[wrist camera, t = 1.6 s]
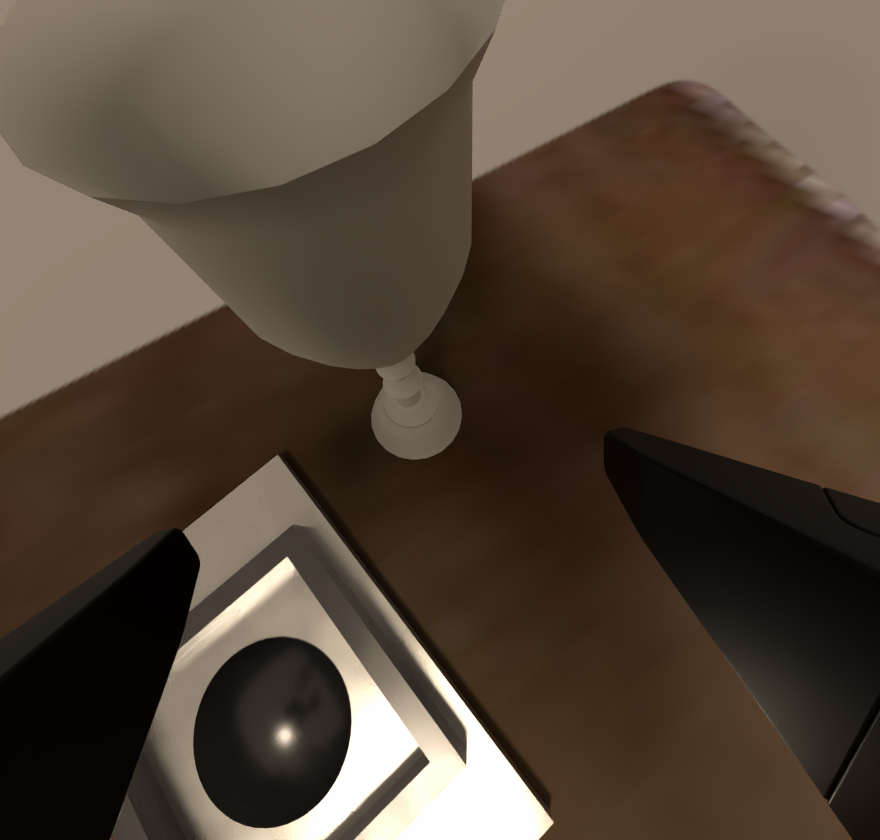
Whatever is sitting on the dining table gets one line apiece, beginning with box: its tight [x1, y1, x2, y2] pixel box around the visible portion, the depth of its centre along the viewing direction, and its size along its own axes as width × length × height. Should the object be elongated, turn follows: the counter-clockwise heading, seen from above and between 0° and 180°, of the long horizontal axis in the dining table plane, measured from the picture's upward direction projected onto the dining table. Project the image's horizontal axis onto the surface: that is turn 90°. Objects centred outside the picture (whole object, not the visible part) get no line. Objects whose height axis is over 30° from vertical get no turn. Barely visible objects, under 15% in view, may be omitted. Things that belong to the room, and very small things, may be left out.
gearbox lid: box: [113, 455, 554, 840], centre depth 17 cm, size 20×14×2 cm
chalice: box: [0, 0, 504, 460], centre depth 14 cm, size 7×7×18 cm
